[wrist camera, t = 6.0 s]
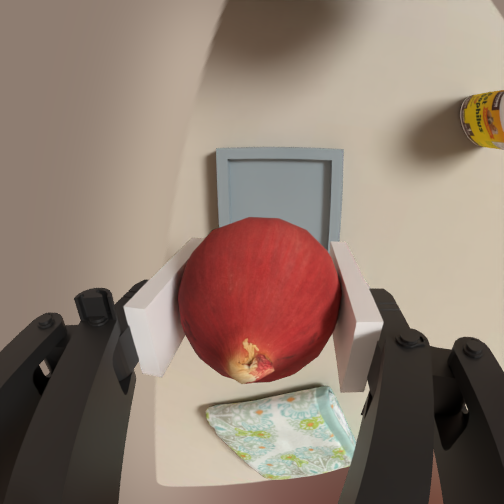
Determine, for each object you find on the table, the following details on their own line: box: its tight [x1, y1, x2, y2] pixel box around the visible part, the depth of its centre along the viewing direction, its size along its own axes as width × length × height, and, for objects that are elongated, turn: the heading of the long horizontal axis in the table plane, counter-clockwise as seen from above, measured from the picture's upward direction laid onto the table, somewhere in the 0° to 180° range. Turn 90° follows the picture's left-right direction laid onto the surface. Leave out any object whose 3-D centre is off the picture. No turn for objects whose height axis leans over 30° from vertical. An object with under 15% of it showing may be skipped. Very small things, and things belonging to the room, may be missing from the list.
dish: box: [216, 147, 344, 254], centre depth 27 cm, size 11×11×2 cm
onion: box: [178, 217, 342, 384], centre depth 10 cm, size 6×6×8 cm
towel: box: [206, 386, 356, 480], centre depth 37 cm, size 18×21×5 cm
